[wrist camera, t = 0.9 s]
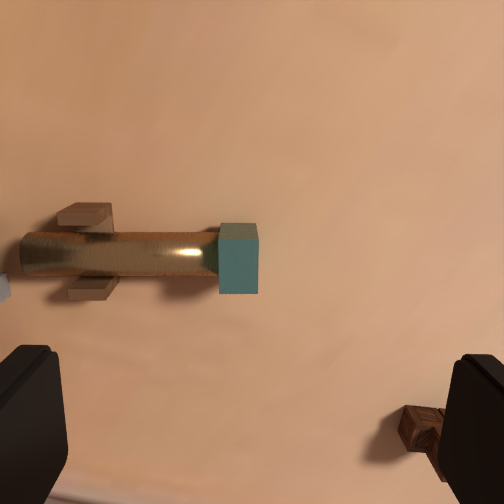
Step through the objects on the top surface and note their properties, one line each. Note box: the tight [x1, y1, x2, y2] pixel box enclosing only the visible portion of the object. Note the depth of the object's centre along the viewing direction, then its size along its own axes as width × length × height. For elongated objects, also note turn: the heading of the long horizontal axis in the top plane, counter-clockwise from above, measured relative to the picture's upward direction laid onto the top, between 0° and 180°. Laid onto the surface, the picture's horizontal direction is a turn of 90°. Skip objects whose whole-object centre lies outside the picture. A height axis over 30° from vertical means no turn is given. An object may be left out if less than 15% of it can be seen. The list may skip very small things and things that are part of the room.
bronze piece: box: [20, 223, 259, 294], centre depth 33 cm, size 4×18×5 cm, turn 90°
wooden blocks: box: [398, 405, 447, 482], centre depth 42 cm, size 15×15×7 cm
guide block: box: [57, 203, 119, 301], centre depth 35 cm, size 7×3×4 cm, turn 0°
